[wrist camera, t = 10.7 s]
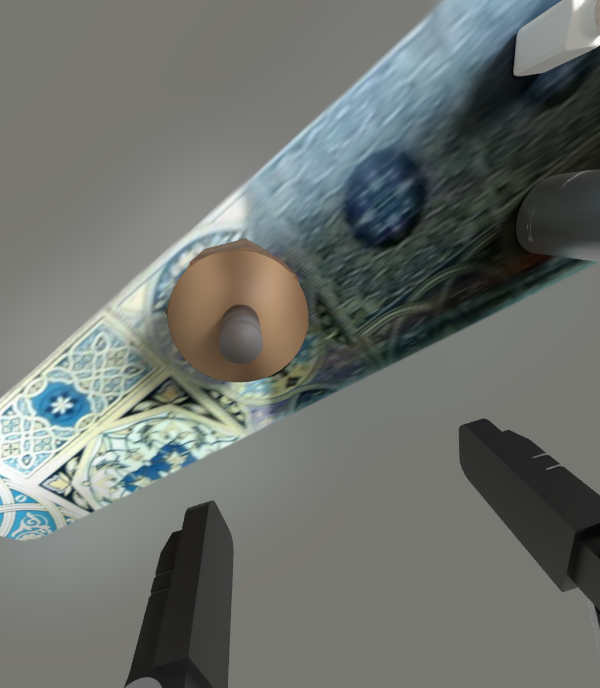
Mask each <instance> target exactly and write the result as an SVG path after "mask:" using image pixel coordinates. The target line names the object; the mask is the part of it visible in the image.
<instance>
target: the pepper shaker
mask: <svg viewBox="0 0 600 688" xmlns="http://www.w3.org/2000/svg"><path fill="white" fill-rule="evenodd" d="M599 45H600V0H562V1H561V2H559V3H558V4H556V5H555V6H553V7H552V8H550V9H549V10H547V11H546V12H544V13H543V14H541V15H540V16H538V17H537V18H535V19H534V20H532V21H531V22H530V23H528V24H527V25H525V26H524V27H522V28H521V29H520V30H519V31H518V34H517V37H516V48H515V59H514V70H513V72H514V75H515V76H526V75H532V74H539V73H544V72H546V71H548V70H550V69H553V68H555V67H557V66H559V65H561V64H563V63H565V62H567V61H569V60H571V59H574V58H576V57H578V56H580V55H582V54H584V53H586V52H588V51H590V50H592V49H595V48H597V47H598V46H599Z"/></svg>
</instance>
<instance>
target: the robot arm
mask: <svg viewBox="0 0 600 688" xmlns="http://www.w3.org/2000/svg"><path fill="white" fill-rule="evenodd" d="M516 234H517V238H518V241H519V243H520V245H521V246H522V247H523V248H524V249H525V250H527V251H529V252H531V253H536V254H544V255H552V256H560V257H567V258H575V259H583V260H591V261H599V262H600V169H599V170H590V171H583V172H575V173H567V174H560V175H554V176H551V177H548V178H546V179H544V180H542V181H541V182H540V183H538V184H537V185H536V186H535V187H534V188H533V189H532V190H531V191H530V192H529V193H528V195H527V196H526V198H525V199H524V201H523V203H522V205H521V207H520V209H519V212H518V216H517V221H516ZM459 452H460V453H459V455H460V464H461V467H462V470H463V471H464V474H465V475H466V477H467V478H468V480H469V481H470V482H471V484H472V485H473V486H474V487H475V488H476V489H477V491H478V492H479V493H480V494H481V495H482V496H483V498H484V499H485V500H486V501H487V503H488V504H489V505H490V506H491V507H492V509H493V510H494V511H495V512H496V513H497V515H498V516H499V517H500V518H501V519H502V521H503V522H504V523H505V524H506V525H507V527H508V528H509V529H510V530H511V531H512V533H513V534H514V535H515V536H516V537H517V539H518V540H519V541H520V542H521V543H522V545H523V546H524V547H525V548H526V549H527V551H528V552H529V553H530V554H531V555H532V557H533V558H534V559H535V560H536V561H537V563H538V564H539V565H540V566H541V567H542V569H543V570H544V571H545V572H546V573H547V575H548V576H549V577H550V578H551V579H552V581H553V582H554V583H555V584H556V585H557V587H558V588H559V589H560V590H561V591H562V592H565V591H568V590H570V589H574V588H576V587H579V588H580V590H581V591H582V592H583V593H584V594H585V595H586V596H587V597H588V599H589V600H588V605H589V610H590V615H591V620H592V623H593V628H594V633H595V637H596V641H597V646H598V650H599V655H600V495H599V494H597V493H596V492H595V491H593V490H592V489H591V488H590V487H588V486H587V485H586V484H584V483H583V482H582V481H581V480H579V479H578V478H577V477H576V476H575V475H573V474H572V473H571V472H569V471H568V470H567V469H566V468H565V467H561V466H560V464H559V463H558V462H557V461H556V460H554V459H553V458H552V457H550V456H549V455H546V453H545V452H544V451H543V450H542V449H541V448H539V447H538V446H537V445H536V444H534V443H533V442H532V441H531V440H529V439H528V438H525V437H523V436H521V435H518V434H516V433H514V432H512V431H510V430H507V431H503V432H502V431H501V430H499V429H498V428H497V427H496V426H495V425H494V424H492V423H491V422H490V421H489V420H487V419H480V420H477V421H474V422H471V423H467V424H464V425H461V426H460V427H459ZM232 575H233V541H232V536H231V533H230V531H229V528H228V526H227V524H226V522H225V520H224V519H223V517H222V515H221V513H220V511H219V509H218V507H217V505H216V503H215V502H214V501H209V502H206V503H202V504H199V505H196V506H193V507H190V508H188V509H187V510H186V513H185V517H184V522H183V526H182V530H180V531H176V532H173V533H172V534H171V536H170V538H169V539H168V541H167V543H166V545H165V546H164V548H163V550H162V552H161V554H160V558H159V562H158V565H157V570H156V577H155V578H154V581H153V585H152V589H151V596H150V597H149V601H148V604H147V608H146V612H145V615H144V619H143V623H142V627H141V631H140V635H139V639H138V643H137V646H136V650H135V654H134V658H133V662H132V665H131V670H130V673H129V676H128V679H127V681H126V684H125V686H124V688H228V666H229V645H230V622H231V599H232Z"/></svg>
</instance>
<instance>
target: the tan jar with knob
mask: <svg viewBox="0 0 600 688" xmlns="http://www.w3.org/2000/svg"><path fill="white" fill-rule="evenodd" d="M166 314H167V316H168V325H169V330H170V334H171V336H172V339H173V342H174V344H175V345H176V347H177V349H178V350H179V352H180V353H181V355H182V356H183V357H184V358H185V359H186V360H187V362H189V363H190V364H191V365H192V366H193V367H195V368H196V369H197V370H199V371H201V372H202V373H204V374H206V375H208V376H210V377H213V378H216V379H219V380H223V381H228V382H250V381H255V380H260V379H263V378H265V377H268V376H270V375H272V374H274V373H276V372H278V371H279V370H281V369H282V368H283V367H285V366H286V365H287V364H288V363H289V362H290V361H291V360H292V359H293V358H294V357H295V355H296V354H297V352H298V351H299V349H300V348H301V346H302V344H303V341H304V339H305V336H306V332H307V329H308V327H309V324H308V308H307V302H306V299H305V296H304V293H303V291H302V289H301V287H300V285H299V282H298V278H297V275H296V274H295V273H294V272H293V271H292V270H291V269H290V268H289V267H288V266H287V265H286V264H285V263H284V262H283V261H282V260H281V259H279V258H277V257H276V256H274V255H272V254H271V253H269V252H267V251H266V250H264V249H262V248H261V247H259V246H257V245H256V244H254V243H252V242H251V241H249V240H247V239H246V238H245V239H242V240H238V241H234V242H230V243H227V244H223V245H219V246H215V247H211V248H208V249H204V250H203V251H202V252H201V253H200V254H198V255H197V256H196V257H195V258H194V259H193V260H192V261H191V262H190V264H189V266H188V268H187V270H186V272H185V273H184V274H183V275H182V276H181V278H180V279H179V280H178V282H177V284H176V285H175V287H174V289H173V292H172V294H171V297H170V301H169V305H168V309H167V311H166Z"/></svg>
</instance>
